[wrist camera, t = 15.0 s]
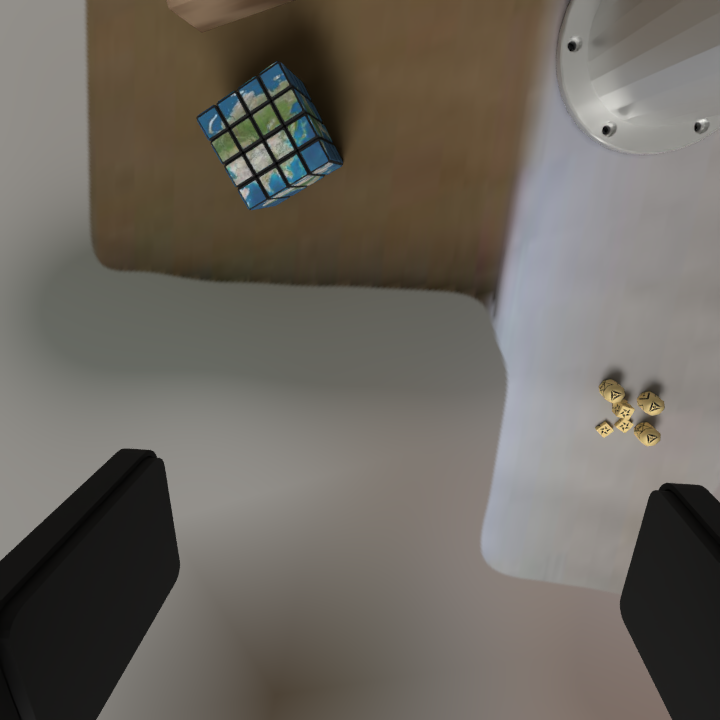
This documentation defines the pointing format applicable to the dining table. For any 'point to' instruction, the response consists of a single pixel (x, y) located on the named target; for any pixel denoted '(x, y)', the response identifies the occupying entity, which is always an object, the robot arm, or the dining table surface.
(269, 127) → the puzzle
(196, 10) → the brown wooden flat block
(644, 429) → the dice set
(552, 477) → the dining table surface
